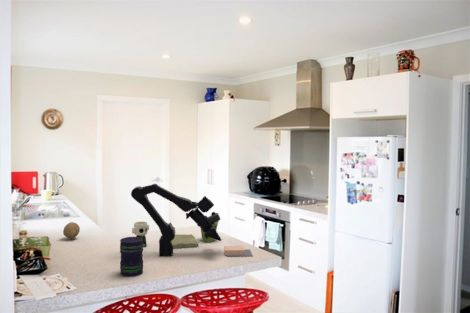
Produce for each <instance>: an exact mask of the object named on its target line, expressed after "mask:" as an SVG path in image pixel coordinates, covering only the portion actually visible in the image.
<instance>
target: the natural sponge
mask: <svg viewBox="0 0 470 313" xmlns="http://www.w3.org/2000/svg"><path fill="white" fill-rule="evenodd" d="M80 230H81V228H80V226H79V224H77V223H76V222H74V221H73V222H71V221H70V222H69V223H67V224H66V225H65V226H64V227H63V231H62V232H63V236H64V237H66V238H67V239H69V240H74V239H75V238H76V237H77V236H78V235H79V233H80Z"/></svg>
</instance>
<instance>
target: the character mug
mask: <svg viewBox="0 0 470 313" xmlns="http://www.w3.org/2000/svg"><path fill="white" fill-rule="evenodd" d="M149 230H150V225H149V224H148V222H147V221H135V222H134V223H133V227H132V228H131V233H132V234H134V235H135V237H141V238H143V247H146V246H147V244H148V243H147V237H146V235H147V234H148V232H149Z"/></svg>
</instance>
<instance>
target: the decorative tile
mask: <svg viewBox="0 0 470 313" xmlns="http://www.w3.org/2000/svg"><path fill="white" fill-rule="evenodd" d="M171 242H172V245H173V250H181V249H182V248H183V249H193V248H194V249H196V248H197V247H198V248H199V242H198V240H197V238H196V237H195V236H194V235H193V234H187V233H186V234H181V233H180V234H175V237H174V239H173V240H172V241H171ZM198 248H197V249H198Z"/></svg>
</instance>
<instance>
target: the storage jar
mask: <svg viewBox="0 0 470 313" xmlns="http://www.w3.org/2000/svg"><path fill="white" fill-rule="evenodd" d="M119 242H120V244H119V245H120V246H119V253H120V263H119V270H120V275H121V277H126V278H133V277H138V276H141V275H142V274H143V273H144V260H143V252H144V246H143V238H141V237H136V236H127V237H123V238H121V239H120V240H119Z"/></svg>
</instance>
